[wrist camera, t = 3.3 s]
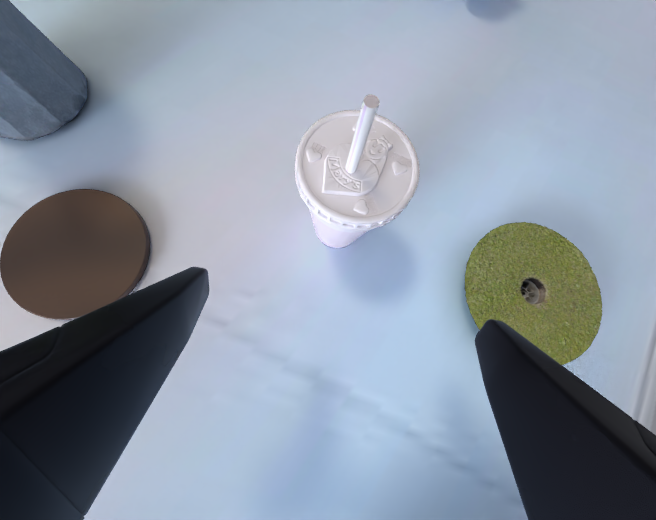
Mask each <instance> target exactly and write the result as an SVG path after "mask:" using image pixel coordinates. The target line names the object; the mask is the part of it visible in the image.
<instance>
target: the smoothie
mask: <svg viewBox="0 0 656 520" xmlns="http://www.w3.org/2000/svg"><path fill="white" fill-rule="evenodd" d="M379 103H380V102H379V99H378V97H376V96H375V95H372V94H370V95H367V96H365V97H364V100H363V103H362V107H361V110H345V111H339V112H335V113H332V114H329V115H327V116H325V117H323V118H321V119H320V120H318V121H317V122H315V123H314V124H313V125H312V126H311V127H310V128H309V129H308V130H307V131H306V132H305V134H304V135H303V137H302V139H301V141H300V143H299V145H298V148H297V152H296V159H295V180H296V184H297V187H298V190H299V193H300V196H301V197H302V199H303V200H304V202H305V203H306V205H307V206H308V207H309V210H310V213H311V217H312V221H313V224H314V228H315V231H316V234H317V236H318V238H319V239H320V241H321V242H322V243H324V244H325V245H327V246H329V247H332V248H343V247H346V246H348V245H350V244H351V243H352V242H354V241H355V240H356V239H358V238H359V237H361V236H362V235H363V234H365V233H366V232H367V231H369V230H370V229H374V228H377V227H380V226H383V225H385V224H387V223H389V222H390V221H392V220H393V219H395V218H396V217H398V215H399V214H400V213H401V212H402V211H403V210H404V209H405V207H406V206H407V205H408V203H409V201H410V200H411V198H412V197H413V195H414V193H415V191H416V188H417V185H418V181H419V161H418V157H417V154H416V151H415V148H414V146H413V144H412V143H411V141H410V140H409V138H408V137H407V136H406V134H405V133H404V132H403V131H402V130H401V129H400V128H399V127H398V126H397V125H395V124H394V123H393V122H391V121H389V120H388V119H386V118H384V117H382V116H380V115H377V114H376V112H377V109H378V106H379Z"/></svg>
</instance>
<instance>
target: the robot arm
mask: <svg viewBox="0 0 656 520" xmlns="http://www.w3.org/2000/svg"><path fill="white" fill-rule="evenodd" d="M208 295H209V279H208V271H207V270H206V269H205V268H199V267H191V268H188V269H186V270H184V271H182V272H180V273H177V274H175V275H173V276H171V277H168V278H166V279H164V280H162V281H159V282H157V283H155V284H153V285H150V286H148V287H146V288H144V289H141V290H139V291H137V292H135V293H132V294H130V295H128V296H126V297H124V298H121V299H119V300H117V301H115V302H112V303H110V304H108V305H106V306H103V307H101V308H99V309H97V310H94V311H92V312H90V313H88V314H85V315H83V316H81V317H79V318H76V319H74V320H72V321H70V322H67V323H65V324H63V325H62V326H61V327H56V328H54V329H52V330H49V331H47V332H45V333H43V334H40V335H38V336H36V337H33V338H31V339H29V340H26V341H24V342H22V343H19V344H17V345H15V346H12V347H10V348H8V349H5V350H3V351H0V520H83V519H84V516H85V515H86V514H87V512H88V510H89V508H90V507H91V505H92V503H93V502H94V500H95V498H96V497H97V495H98V493H99V492H100V490H101V488H102V486H103V485H104V483H105V481H106V480H107V478H108V476H109V475H110V473H111V471H112V469H113V468H114V466H115V464H116V463H117V461H118V459H119V458H120V456H121V454H122V452H123V451H124V449H125V447H126V446H127V444H128V442H129V441H130V439H131V437H132V435H133V434H134V432H135V430H136V429H137V427H138V425H139V424H140V422H141V420H142V418H143V417H144V415H145V413H146V412H147V410H148V408H149V407H150V405H151V403H152V402H153V400H154V398H155V396H156V395H157V393H158V391H159V390H160V388H161V386H162V385H163V383H164V381H165V379H166V378H167V376H168V374H169V373H170V371H171V369H172V368H173V366H174V364H175V362H176V361H177V359H178V357H179V356H180V354H181V352H182V351H183V349H184V347H185V345H186V344H187V342H188V340H189V338H190V336H191V334H192V332H193V329H194V327H195V325H196V323H197V320H198V318H199V316H200V314H201V311H202V309H203V307H204V304H205V302H206V300H207V298H208ZM475 345H476V350H477V354H478V359H479V363H480V368H481V372H482V377H483V381H484V385H485V389H486V392H487V396H488V399H489V402H490V405H491V408H492V411H493V414H494V417H495V420H496V423H497V426H498V429H499V432H500V435H501V438H502V441H503V444H504V447H505V450H506V453H507V456H508V459H509V462H510V465H511V469H512V472H513V475H514V478H515V481H516V484H517V487H518V490H519V493H520V496H521V499H522V502H523V505H524V508H525V511H526V514H527V517H528V520H656V435H654V434H653V433H652V432H650V431H649V430H648V429H646V428H645V427H644V426H642V425H641V424H640V423H638V422H637V421H635V420H633V419H632V418H631V417H630V416H629V415H627V414H626V413H625V412H623V411H622V410H621V409H619V408H618V407H617V406H615V405H614V404H613V403H611V402H610V401H609V400H607V399H606V398H605V397H603V396H602V395H601V394H599V393H598V392H597V391H595V390H594V389H593V388H591V387H590V386H589V385H587V384H586V383H585V382H583V381H582V380H581V379H579V378H578V377H577V376H575V375H574V374H573V373H571V372H570V371H569V370H567V369H566V368H565V367H563V366H562V365H561V364H559V363H558V362H557V361H555V360H554V359H553V358H551V357H550V356H549V355H547V354H546V353H545V352H543V351H542V350H541V349H539V348H538V347H537V346H535V345H534V344H533V343H531V342H530V341H529V340H527V339H526V338H525V337H523V336H522V335H521V334H519V333H518V332H517V331H515V330H514V329H513V328H511V327H510V326H509V325H507V324H506V323H505V322H503V321H500V320H494V319H489V320H487V321H486V322H485V323H484V325H483V326H482V328H481V329H480V331H479V332H478V334H477V335H476V338H475Z"/></svg>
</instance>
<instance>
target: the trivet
mask: <svg viewBox="0 0 656 520" xmlns="http://www.w3.org/2000/svg"><path fill="white" fill-rule="evenodd" d="M149 253H150V240H149V234H148V230H147V227H146V225H145V223H144V221H143V219H142V217H141V216H140V214H139V213H138V212H137V211H136V210H135V209H134V208H133V207H132V206H131V205H130V204H128V203H127V202H125V201H124V200H122V199H121V198H119V197H117V196H115V195H113V194H110V193H107V192H104V191H99V190H92V189H76V190H70V191H65V192H61V193H58V194H55V195H52V196H50V197H48V198H46V199H44V200H42V201H40V202H38V203H37V204H35V205H34V206H32V207H31V208H30V209H29V210H27V211H26V212H25V213H24V214H23V215H22V216H21V217H20V218H19V219H18V220H17V222H16V223H15V224H14V225H13V227H12V228H11V230H10V232H9V233H8V235H7V237H6V239H5V242H4V244H3V248H2V251H1V257H0V272H1V278H2V281H3V284H4V286H5V288H6V290H7V292H8V294H9V295H10V296H11V298H12V299H13V300H14V301H15V302H16V303H17V304H18V305H19V306H20V307H22V308H23V309H25V310H26V311H28V312H30V313H32V314H35V315H37V316H40V317H44V318H49V319H55V320H72V319H76V318H79V317H81V316H83V315H85V314H88V313H90V312H92V311H94V310H97V309H99V308H101V307H103V306H106V305H108V304H110V303H112V302H115V301H117V300H119V299H121V298H124V297H126V296H127V295H128V294H129V293H130V292H131V291H132V290H133V288H134V287H135V286H136V285H137V283H138V282H139V280H140V278H141V277H142V275H143V273H144V271H145V268H146V265H147V262H148V258H149Z"/></svg>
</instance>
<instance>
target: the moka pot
mask: <svg viewBox="0 0 656 520" xmlns="http://www.w3.org/2000/svg"><path fill="white" fill-rule="evenodd" d="M86 99H87V80H86V78H85V76H84V73H83V72H82V71H81V70H80V69H79V68H78V67H77V66H76V65H75V64H74V63H73V62H72V61H71V60H70V59H68V58H67V57H66V56H65V55H64V54H63V53H62V52H61V51H60V50H59V49H58V48H57V47H56V46H55V45H54V44H53V43H52V42H51V41H50V40H49V39H48V38H47V37H46V36H45V35H44V34H43V33H42V32H41V31H40V30H39V29H37V28H36V27H35V26H34V25H33V24H32V23H31V22H30V21H29V20H28V19H27V18H26V17H25V16H24V15H23V14H22V13H21V12H20V11H19V10H18V9H17V8H16V7H15V6H14V5H13V4H12V3H11V2H10V1H9V0H0V137H3V138H11V139H19V140H34V139H36V138H40V137H43V136H45V135H49V134H51V133H52V132H55V131H56V130H58V129H59V128H60V127H62V126H63V125H65V124H67V123H68V122H70V121H71V120H72V119H73V118H74V117H75V116H76V115H77V114H78V112H79V111H80V110H81V108H82V106H83V105H84V103H85V101H86Z"/></svg>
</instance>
